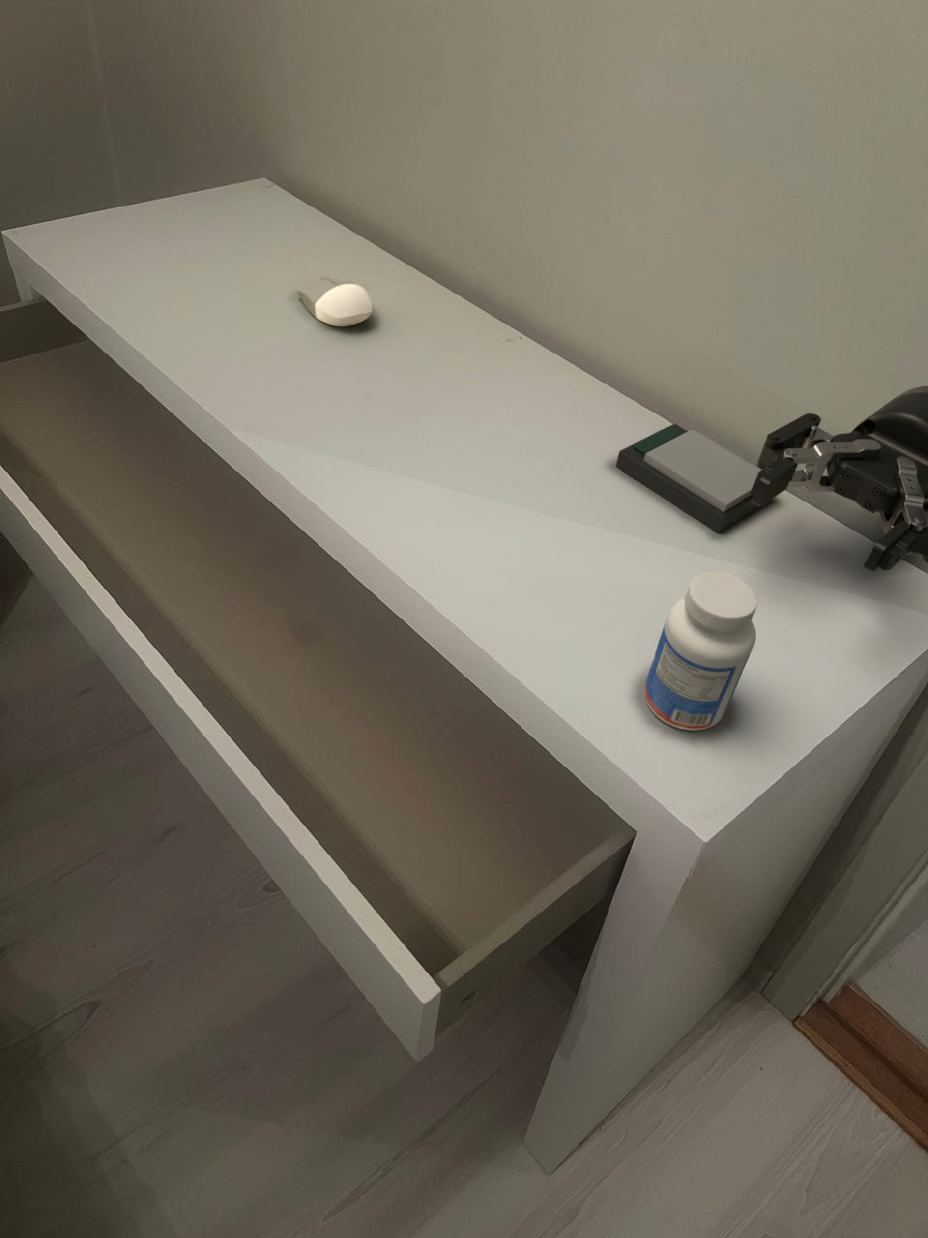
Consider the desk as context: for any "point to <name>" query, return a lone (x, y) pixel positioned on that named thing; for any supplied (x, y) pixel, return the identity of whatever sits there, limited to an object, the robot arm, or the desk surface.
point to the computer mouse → (336, 301)
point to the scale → (693, 475)
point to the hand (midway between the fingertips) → (814, 526)
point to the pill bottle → (702, 652)
